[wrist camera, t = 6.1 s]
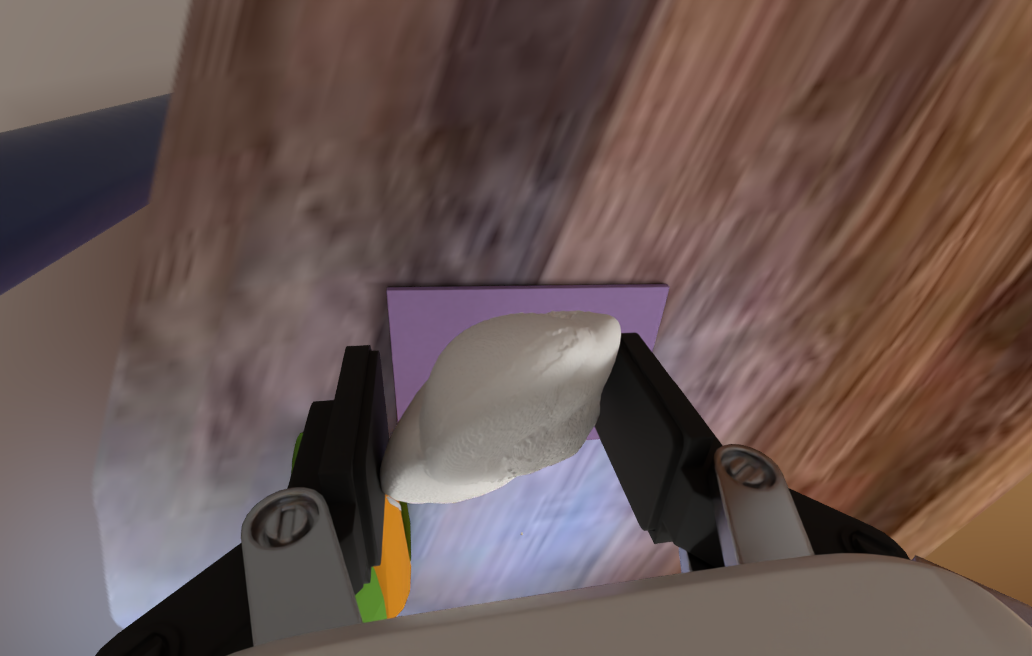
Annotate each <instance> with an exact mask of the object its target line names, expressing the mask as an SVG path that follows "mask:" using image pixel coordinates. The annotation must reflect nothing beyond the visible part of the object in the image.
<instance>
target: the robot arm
mask: <svg viewBox="0 0 1032 656" xmlns="http://www.w3.org/2000/svg"><path fill="white" fill-rule="evenodd" d="M595 429H596V431H597V433H598V435H599V438H600V440H601V442H602V444H603V446H604V449H605V451H606V453H607V455H608V457H609V460H610V462H611V464H612V466H613V468H614V470H615V473H616V475H617V477H618V479H619V481H620V484H621V486H622V488H623V490H624V492H625V495H626V497H627V499H628V501H629V503H630V505H631V508H632V510H633V512H634V514H635V516H636V519H637V521H638V523H639V525H640V527H641V528H642V529H643V530H644V531H646V530H648V532H649V534H650V536H651V538H652V540H653V542H654V544H657V543H664V542H672V541H673V543H674V544H675V545H676V546H678V547H679V556H680V564H681V571H682V573H680V574H673V575H666V576H659V577H652V578H646V579H639V580H633V581H626V582H619V583H613V584H606V585H600V586H593V587H586V588H580V589H573V590H567V591H560V592H554V593H547V594H541V595H534V596H528V597H521V598H515V599H508V600H502V601H496V602H489V603H483V604H477V605H470V606H464V607H458V608H451V609H445V610H439V611H432V612H426V613H420V614H413V615H407V616H401V617H395V618H389V619H384V620H378V621H372V622H366V623H363V621H362V617H361V614H360V611H359V608H358V604H357V601H356V598H355V595H356V594H357V593H358V592H359V591H360V590H361V589H362V588H363V586H364V584H368V583H370V580H371V568H372V567H374V566H380V565H381V557H382V541H383V526H384V510H385V493H384V492H383V491H382V488H381V484H380V478H379V474H380V467H381V463H382V460H383V456H384V453H385V450H386V447H387V444H388V441H389V433H388V423H387V414H386V405H385V396H384V387H383V378H382V369H381V359H380V352H379V351H371V347H370V345H363V346H347V347H346V349H345V354H344V358H343V363H342V367H341V372H340V376H339V381H338V385H337V390H336V394H335V399H334V400H330V401H315V402H313V403H312V405H311V407H310V410H309V414H308V417H307V421H306V424H305V428H304V432H303V435H302V439H301V442H300V446H299V449H298V453H297V456H296V460H295V464H294V467H293V471H292V474H291V478H290V481H289V485H288V488H287V489H284V490H280V491H278V492H276V493H273V494H271V495H269V496H267V497H266V498H264V499H263V500H262V501H260V502H259V503H257V504H256V505H255V506H254V507H253V509H252V510H251V511H250V512H249V513H248V514H247V516H246V518H245V520H244V522H243V524H242V530H241V542H242V543H240V544H239V545H238V546H236V547H235V548H234V549H232V550H231V551H229V552H228V553H227V554H225V555H224V556H223V557H221V558H220V559H219V560H217V561H216V562H215V563H213V564H212V565H210V566H209V567H208V568H206V569H205V570H204V571H202V572H201V573H200V574H198V575H197V576H196V577H194V578H193V579H191V580H190V581H189V582H187V583H186V584H185V585H183V586H182V587H181V588H179V589H178V590H177V591H175V592H174V593H172V594H171V595H170V596H168V597H167V598H166V599H164V600H163V601H162V602H160V603H159V604H158V605H156V606H155V607H153V608H152V609H151V610H149V611H148V612H147V613H145V614H144V615H143V616H141V617H140V618H139V619H137V620H136V621H134V622H133V623H132V624H130V625H129V626H128V627H126V628H125V629H124V630H122V631H121V632H120V633H118V634H117V635H116V636H115V637H114V638H112V639H111V640H110V641H109V642H108V643H107V644H105V645H104V646H103V647H102V648H101V649H100V650H99V652H98V653H97V654H96V655H95V656H1032V607H1031V606H1029V605H1027V604H1025V603H1023V602H1020V601H1018V600H1016V599H1014V598H1011V597H1009V596H1007V595H1005V594H1002V593H1000V592H998V591H996V590H993V589H991V588H989V587H986V586H984V585H982V584H980V583H977V582H975V581H973V580H970V579H968V578H966V577H964V576H962V575H959V574H957V573H955V572H952V571H950V570H948V569H946V568H943V567H941V566H939V565H937V564H934V563H932V562H930V561H928V560H925V559H923V558H921V557H919V556H916V555H915V557H914V558H913V559H912V560H910V559H909V557H908V556H907V554H906V552H905V551H904V550H903V549H902V548H901V547H900V546H899V545H898V544H897V543H896V542H895V541H894V540H893V539H891V538H890V537H889V536H888V535H886V534H885V533H883V532H882V531H880V530H878V529H876V528H874V527H873V526H871V525H868V524H866V523H864V522H862V521H860V520H857V519H855V518H853V517H851V516H849V515H846V514H844V513H842V512H840V511H838V510H835V509H833V508H831V507H829V506H827V505H824V504H822V503H820V502H818V501H816V500H813V499H811V498H809V497H807V496H805V495H802V494H800V493H798V492H796V491H794V490H791V489H789V488H788V486H787V483H786V481H785V478H784V476H783V474H782V472H781V470H780V469H779V467H778V465H777V464H776V463H775V462H774V461H773V460H772V459H771V458H769V457H768V456H766V455H765V454H763V453H762V452H760V451H758V450H756V449H753V448H751V447H748V446H744V445H739V444H729V445H724V446H722V444H721V443H720V442H719V440H718V439H717V438H716V436H715V435H714V434H713V432H712V431H711V430H710V428H709V427H708V426H707V424H706V423H705V421H704V420H703V419H702V417H701V416H700V415H699V413H698V412H697V411H696V409H695V408H694V407H693V405H692V404H691V403H690V401H689V400H688V399H687V397H686V396H685V395H684V393H683V392H682V391H681V389H680V388H679V387H678V385H677V384H676V383H675V382H674V381H673V380H672V378H671V377H670V376H669V374H668V373H667V372H666V370H665V369H664V368H663V366H662V365H661V364H660V362H659V361H658V360H657V358H656V357H655V355H654V354H653V353H652V351H651V350H650V349H649V347H648V346H647V345H646V343H645V342H644V341H643V339H642V338H641V337H640V335H639V334H638V333H635V332H633V333H621V339H620V346H619V350H618V353H617V356H616V360H615V363H614V365H613V368H612V370H611V373H610V375H609V377H608V379H607V382H606V383H605V385H604V388H603V391H602V393H601V400H600V415H599V417H598V419H597V422H596V424H595Z"/></svg>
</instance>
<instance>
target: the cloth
mask: <svg viewBox="0 0 1032 656" xmlns="http://www.w3.org/2000/svg"><path fill="white" fill-rule="evenodd" d="M668 291H669V286H668V285H667V284H631V285H546V286H461V287H387V303H388V315H389V326H390V338H391V350H392V362H393V374H394V385H395V397H396V409H397V421H398V422H399V420H400V418H401V417H402V415H403V413H404V412H405V410H406V409H407V407H408V406H409V404H410V403H411V401H412V400H413V398H414V396H415V395H416V393H417V392H418V391H419V390H420V388H421V387H422V386H423V385H424V383H425V382H426V381H427V380H428V379H429V377H430V374H431V371H432V369H433V366H434V364H435V363H436V361H437V359H438V357H439V355H440V354H441V352H442V351H443V350H444V349H445V348H446V346H447V345H448V344H449V343H450V342H451V341H452V340H453V339H454V338H455V337H456V336H458V335H459V334H460V333H462V332H463V331H464V330H466V329H468V328H470V327H471V326H473V325H476V324H478V323H480V322H482V321H484V320H489V319H491V318H494V317H499V316H503V315H508V314H516V313H521V312H523V313H524V314H526V313H536V314H541V313H542V314H546V313H548V312H551V311H555V312H557V311H559V312H560V311H577V310H580V311H583V312H587V311H590V312H593V313H601V314H608V315H610V316H612V317H614V318H616V320H617V321H618V322H619V324H620V328H621V333H633V332H635V333H638V334H639V335H640V337H641V338H642V339H643V341H644V342H645V343H646V345H647V346H648V347H649V349H650V350H651V351H653V347H654V344H655V340H656V336H657V332H658V329H659V325H660V321H661V317H662V314H663V310H664V306H665V302H666V298H667V295H668ZM594 439H600V438H599V435H598V433H597V431H596V429H595V426H594V427H593V429H592V430H591V432H590V433H589V435H588V437H587V439H586V440H594Z"/></svg>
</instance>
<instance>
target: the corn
mask: <svg viewBox="0 0 1032 656" xmlns="http://www.w3.org/2000/svg"><path fill="white" fill-rule="evenodd" d="M302 435H303V433H300V434H299V436H298V437H297V440H296V444H295V448H294V453H293V459H292V471H293V467H294V464H295V460H296V456H297V453H298V449H299V446H300V442H301V439H302ZM292 471H291V474H292ZM387 496H388V495H386V494H385V510H384V526H383V541H382V557H381V565H380V566H374V567H372V568H371V580H370V583H368V584H364V586H363V588H362V589H361V590H360V591H359V592H358V593H357V594H356V595H355V598H356V601H357V604H358V608H359V611H360V614H361V617H362V621H363V623H366V622H372V621H378V620H384V619H389V618H395V617H396V616H397V615H398V614H399V613H400V612H401V611H402V610H403V608H404V606H405V603H406V600H407V598H408V595H409V592H410V579H411V564H410V561H411V531H410V519H409V513H408V508H407V502H402V501H397V500H395V499H394V500H395V501H397V502H398V503H399V504H400V506H401V510H399V508H398V507H396V506H394V505H392V504H390V503H389V501H388V499H387V498H386V497H387ZM389 497H390V496H389ZM392 499H393V498H392Z"/></svg>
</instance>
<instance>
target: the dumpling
mask: <svg viewBox="0 0 1032 656" xmlns="http://www.w3.org/2000/svg"><path fill="white" fill-rule="evenodd" d="M620 339H621V328H620V324H619V322H618V321H617V320H616V318H614V317H612V316H610V315H608V314H601V313H593V312H590V311H587V312H583V311H580V310H577V311H560V312H559V311H557V312H555V311H551V312H548V313H546V314H542V313H541V314H536V313H526V314H524V313H523V312H521V313H516V314H508V315H503V316H499V317H494V318H491V319H489V320H484V321H482V322H480V323H478V324H476V325H473V326H471V327H470V328H468V329H466V330H464V331H463V332H462V333H460V334H459V335H458V336H456V337H455V338H454V339H453V340H452V341H451V342H450V343H449V344H448V345H447V346H446V348H445V349H444V350H443V351H442V352H441V354H440V355H439V357H438V359H437V361H436V363H435V364H434V366H433V369H432V371H431V374H430V377H429V379H428V380H427V381H426V382H425V383H424V385H423V386H422V387H421V388H420V390H419V391H418V392H417V393H416V395H415V396H414V398H413V400H412V401H411V403H410V404H409V406H408V407H407V409H406V410H405V412H404V413H403V415H402V417H401V418H400V420H399V422H398V424H397V425H396V427H395V429H394V431H393V433H392V435H391V437H390V439H389V441H388V444H387V447H386V450H385V453H384V456H383V460H382V463H381V467H380V474H379V478H380V484H381V488H382V491H383V492H384V493H385V494H386V495H388V496H387V497H386V498H387V499H388V501H389V503H390V504H392V505H394V506H396V507H398V508H399V510H401V506H400V504H399V503H398V502H397V501H402V502H408V503H412V504H423V503H427V502H433V503H443V504H445V503H456V502H459V501H463V500H467V499H471V498H474V497H478V496H481V495H484V494H486V493H489V492H491V491H493V490H496V489H498V488H500V487H502V486H504V485H505V484H506V483H508V482H509V481H511V480H512V479H513V478H515V477H517V476H521V475H526V474H531V473H534V472H535V471H538V470H540V469H542V468H544V467H547V466H552V465H553V464H556V463H558V462H561V461H562V460H565V459H567V458H569V457H571V456H573V455H574V454H576V453H577V452H578V450H579V449H580V448H581V447H582V445H583V444H584V442H585V441H586V439H587V437H588V435H589V433H590V432H591V430H592V429H593V427H594V426H595V424H596V422H597V419H598V417H599V415H600V400H601V393H602V391H603V388H604V385H605V383H606V382H607V379H608V377H609V375H610V373H611V370H612V368H613V365H614V363H615V360H616V356H617V353H618V350H619V346H620ZM389 496H390V497H389ZM392 498H393V499H392ZM394 499H395V500H397V501H395V500H394ZM521 535H523V533H521Z"/></svg>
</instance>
